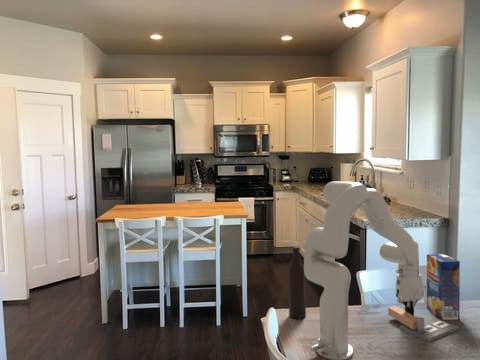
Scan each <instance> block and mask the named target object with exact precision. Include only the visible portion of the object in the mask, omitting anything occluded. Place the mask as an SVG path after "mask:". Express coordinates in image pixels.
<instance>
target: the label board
mask: <svg viewBox="0 0 480 360" xmlns="http://www.w3.org/2000/svg"><path fill="white" fill-rule="evenodd" d="M399 329H400V330H401V331H403V332H405V333H407V334H410V335H412V336H414V337H416V338H418V339H421V340H423V341H425V342H428V343H430V342H432V341H434V340H436V339H437V340H438V339H439V338H442V337H444V336H446V335H449V334H451V333H453V332H455V331H458V330H459V326H458V325H455V324H452V323H449V322H447V321H444V320H441V319H440V318H438V317H434V316H432V315H427V316H425V317H417V329H414V330H413V329H411V328H410V327H408V326H406V325H405V324H403V325H400V326H399Z"/></svg>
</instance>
